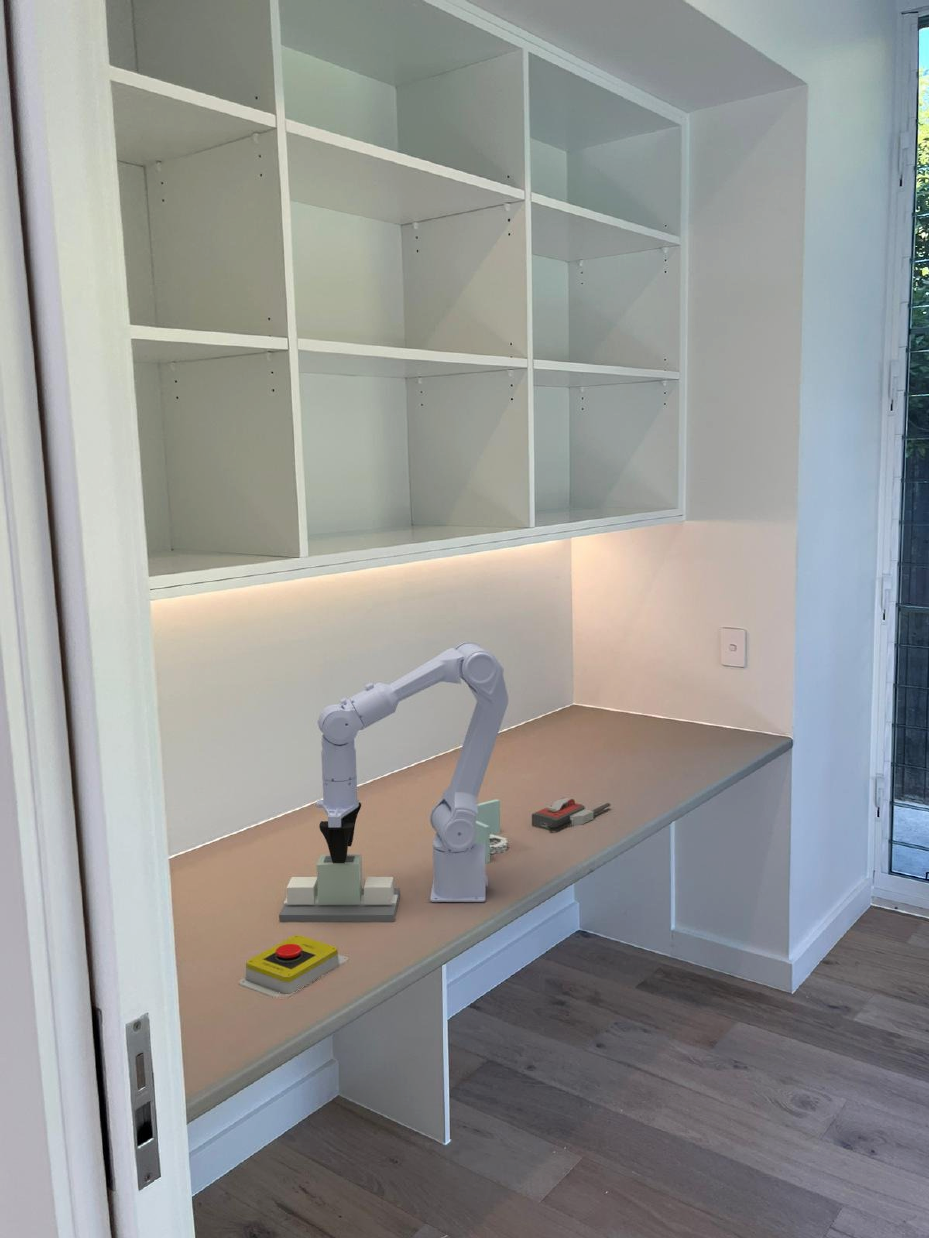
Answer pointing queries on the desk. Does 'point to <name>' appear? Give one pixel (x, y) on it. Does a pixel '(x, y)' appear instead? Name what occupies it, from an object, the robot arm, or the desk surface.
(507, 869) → the desk surface
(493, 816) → the l-shaped corner panel
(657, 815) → the desk surface
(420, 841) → the desk surface
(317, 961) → the emergency button
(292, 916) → the rail board
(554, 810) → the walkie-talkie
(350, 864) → the block
